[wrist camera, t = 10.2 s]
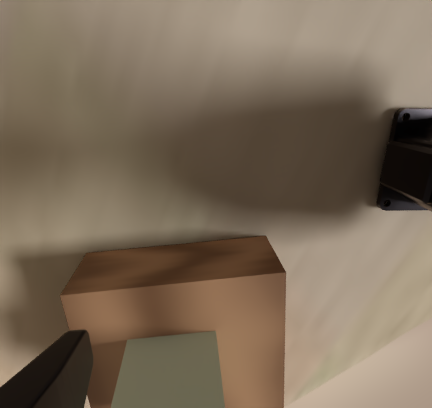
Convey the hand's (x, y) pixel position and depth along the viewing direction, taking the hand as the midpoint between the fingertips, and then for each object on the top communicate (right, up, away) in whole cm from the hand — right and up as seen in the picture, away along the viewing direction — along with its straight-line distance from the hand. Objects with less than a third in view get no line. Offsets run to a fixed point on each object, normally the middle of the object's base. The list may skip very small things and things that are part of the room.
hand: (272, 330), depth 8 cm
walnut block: (-4, -5, +16) cm, 17 cm away
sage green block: (-4, -7, +11) cm, 13 cm away
